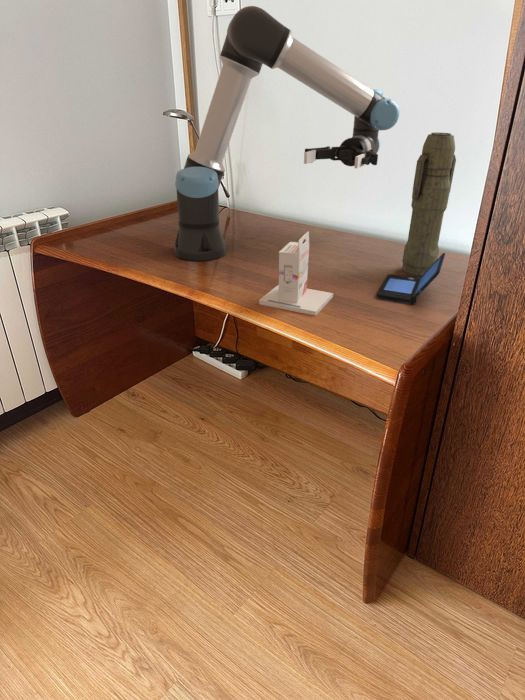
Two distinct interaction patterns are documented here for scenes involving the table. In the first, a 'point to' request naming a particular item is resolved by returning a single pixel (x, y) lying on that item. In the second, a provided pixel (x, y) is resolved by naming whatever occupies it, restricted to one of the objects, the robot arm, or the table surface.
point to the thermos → (429, 202)
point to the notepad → (307, 304)
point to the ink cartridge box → (293, 270)
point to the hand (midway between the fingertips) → (330, 160)
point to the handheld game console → (408, 284)
